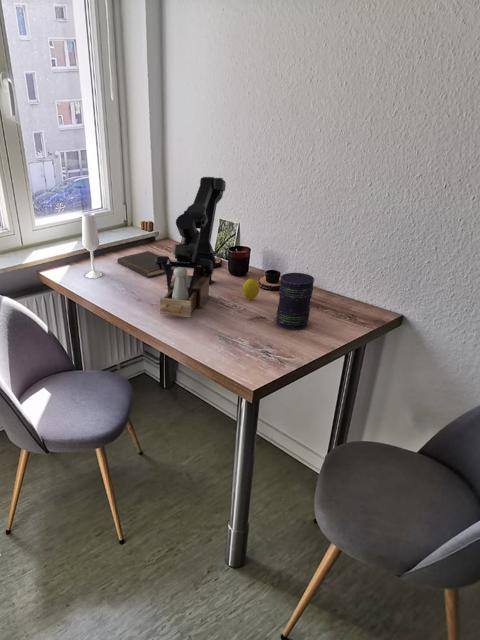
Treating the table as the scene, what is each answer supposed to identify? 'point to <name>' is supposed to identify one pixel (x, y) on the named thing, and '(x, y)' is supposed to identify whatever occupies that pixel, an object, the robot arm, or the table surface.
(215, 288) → the table surface
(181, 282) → the white bowling pin
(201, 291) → the cabinet
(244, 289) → the lemon
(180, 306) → the drawer
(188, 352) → the table surface
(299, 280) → the storage jar
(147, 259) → the hardcover book
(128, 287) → the table surface
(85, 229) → the champagne flute
